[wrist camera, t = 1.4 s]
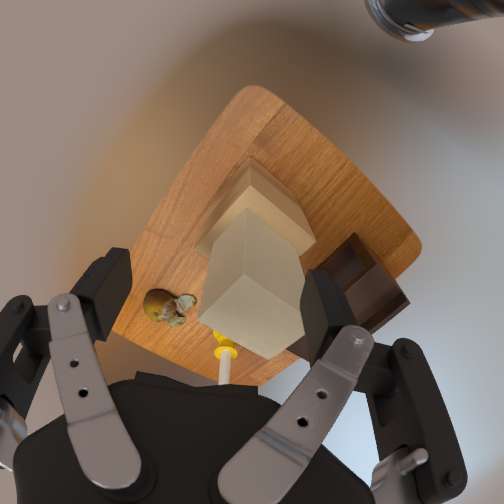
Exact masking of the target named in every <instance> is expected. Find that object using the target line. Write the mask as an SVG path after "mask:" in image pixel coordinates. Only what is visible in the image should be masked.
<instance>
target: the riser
mask: <svg viewBox="0 0 504 504" xmlns="http://www.w3.org/2000/svg"><path fill="white" fill-rule="evenodd" d="M245 208H247V209H248V210H250V211H251V212H252V213H253V214H255V215H256V216H257V217H258V218H260V219H261V220H262V221H263V222H265V223H266V224H267V225H268V226H270V227H271V228H272V229H273V230H274V231H276V232H277V233H278V234H279V235H281V236H282V237H283V238H284V239H286V240H287V241H288V242H289V243H290V244H292V245H293V246H294V247H295V248H296V250H297V254H298V257H300V256H302V255H303V254H304V253H305V252H306V251H307V250H308V249H309V248H310V247H311V246H312V245H313V244H314V243H315V242H316V239H315V237H314V234H313V232H312V230H311V228H310V226H309V224H308V221H307V219H306V217H305V215H304V213H303V211H302V209H301V207H300V205H299V203H298V201H297V198H296V196H295V194H294V193H293V192H292V191H291V190H289V189H288V188H287V187H286V186H285V185H284V184H283V183H281V182H280V181H279V180H278V179H277V178H276V177H274V176H273V175H272V174H271V173H270V172H269V171H267V170H266V169H265V168H264V167H263V166H261V165H260V164H259V163H258V162H257V161H255V160H254V159H253V158H252V157H251V156H249V157H248V158H247V159H246V160H245V161H244V163H243V164H242V165H241V166H240V167H239V168H238V169H237V170H236V172H235V173H234V174H233V175H232V176H231V177H230V178H229V180H228V181H227V182H226V183H225V184H224V185H223V187H222V188H221V189H220V190H219V191H218V193H217V194H216V195H215V196H214V197H213V198H212V200H211V202H210V205H209V208H208V210H207V213H206V216H205V219H204V221H203V224H202V227H201V230H200V233H199V236H198V238H197V241H196V244H195V247H194V250H195V251H196V252H197V253H199V254H200V255H202V256H203V257H205V258H206V259H207V260H209V261H210V256H211V252H212V248H213V243H214V242H215V241H216V240H217V239H218V238H219V236H220V235H221V234H222V233H223V232H224V231H225V230H226V229H227V227H228V226H229V225H230V224H231V223H232V222H233V221H234V220H235V219H236V217H237V216H238V215H239V214H240V213H241V212H242V211H243V210H244V209H245Z"/></svg>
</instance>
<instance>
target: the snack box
mask: <svg viewBox="0 0 504 504" xmlns="http://www.w3.org/2000/svg"><path fill="white" fill-rule="evenodd" d="M304 283H305V277H304V274H303V270H302V267H301V264H300V260H299V257H298V254H297V250H296V248H295V247H294V246H293V245H292V244H290V243H289V242H288V241H287V240H286V239H284V238H283V237H282V236H281V235H279V234H278V233H277V232H276V231H274V230H273V229H272V228H271V227H270V226H268V225H267V224H266V223H265V222H263V221H262V220H261V219H260V218H258V217H257V216H256V215H255V214H253V213H252V212H251V211H250V210H248V209H247V208H245V209H244V210H243V211H242V212H241V213H240V214H239V215H238V216H237V217H236V219H235V220H234V221H233V222H232V223H231V224H230V225H229V226H228V227H227V229H226V230H225V231H224V232H223V233H222V234H221V235H220V236H219V238H218V239H217V240H216V241H215V242H214V243H213V248H212V252H211V256H210V261H209V265H208V270H207V274H206V279H205V283H204V288H203V293H202V298H201V302H200V307H199V312H198V317H197V320H198V321H199V322H201V323H203V324H204V325H206V326H208V327H209V328H211V329H213V330H215V331H216V332H218V333H220V334H221V335H223V336H225V337H227V338H229V339H230V340H232V341H234V342H236V343H238V344H239V345H241V346H243V347H245V348H247V349H249V350H250V351H252V352H254V353H256V354H258V355H260V356H262V357H264V358H266V359H267V360H270V359H272V358H273V357H274V356H276V355H277V354H279V353H280V352H282V351H283V350H284V349H286V348H287V347H289V346H290V345H291V344H293V343H294V342H295V341H297V340H298V339H299V338H301V337H302V336H304V335H305V332H304V327H303V322H302V318H301V313H300V297H301V294H302V290H303V287H304Z"/></svg>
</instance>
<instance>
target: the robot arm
mask: <svg viewBox="0 0 504 504" xmlns="http://www.w3.org/2000/svg"><path fill="white" fill-rule="evenodd" d="M376 2H377V5H378V7H379V9H380V11H381V13H382V14H383V16H384V17H385V18H386V19H387V20H388V21H389V22H390V23H391V24H392V25H393V26H395V27H396V28H398V29H399V30H401V31H403V32H406V33H410V34H420V33H424V34H427V33H428V32H426V31H428V30H432V29H436V28H440V27H445V26H449V25H454V24H458V23H463V22H469V21H474V20H481V19H485V18H486V19H487V18H494V17H504V0H376ZM132 281H133V280H132V270H131V261H130V253H129V250H128V249H123V248H114V247H113V248H111V249H110V250H109V252H108V253H107V254H106V256H105V257H100V258H99V259H97V260H95V261H94V262H93V263H92V264H91V265H90V266H89V268H88V269H87V270H86V271H85V273H84V274H83V276H81V278H80V279H79V280H78V282H77V283H76V284H75V286H74V287H73V288H72V290H71V291H70V292H69V293H64V294H60V295H57V296H56V297H54V298H53V299H52V300H51V301H50V302H49V304H48V305H45V306H34V305H33V303H32V300H31V298H30V297H28V296H26V295H19V296H16V297H14V298H12V299H11V300H10V301H9V302H8V303H7V304H6V306H5V307H4V308H3V309H2V311H1V312H0V469H7V470H8V471H10V472H12V473H14V478H15V483H16V491H17V504H442V503H444V502H446V501H448V500H450V499H453V498H455V497H457V496H458V495H460V494H461V493H462V492H463V490H464V489H465V487H466V484H467V479H468V478H467V471H466V467H465V463H464V460H463V456H462V453H461V450H460V447H459V443H458V440H457V437H456V434H455V431H454V428H453V425H452V422H451V420H450V417H449V414H448V411H447V409H446V406H445V403H444V401H443V398H442V396H441V393H440V390H439V388H438V386H437V383H436V381H435V378H434V376H433V374H432V371H431V369H430V367H429V365H428V362H427V360H426V358H425V356H424V354H423V351H422V349H421V348H420V346H419V345H418V344H417V343H415V342H414V341H412V340H410V339H406V338H400V339H397V340H396V341H395V342H394V344H393V345H392V346H389V345H384V344H381V343H376V342H374V339H373V336H372V335H371V334H370V332H368V331H367V330H366V329H364V328H362V327H360V326H358V323H357V321H356V319H355V316H354V314H353V311H352V309H351V307H350V306H349V302H348V300H347V299H346V298H347V297H346V295H345V293H344V291H343V289H342V288H341V287H340V286H339V285H338V284H337V283H336V282H331V281H330V278H329V276H328V274H327V271H325V270H315V269H309V270H308V272H307V276H306V279H305V283H304V287H303V290H302V294H301V297H300V313H301V318H302V322H303V327H304V332H305V337H306V341H307V346H308V351H309V356H310V361H311V366H313V367H312V368H311V369H310V371H309V372H308V373H307V375H306V376H305V377H304V378H303V380H302V381H301V382H300V384H299V385H298V386H297V387H296V389H295V390H294V391H293V393H292V394H291V395H290V396H289V398H288V399H287V400H286V401H285V403H284V404H283V405H280V404H279V403H277V402H276V401H273V400H271V399H269V398H267V397H264V396H261V395H258V386H248V385H234V384H223V385H214V386H205V387H193V386H189V385H187V384H184V383H181V382H179V381H176V380H174V379H171V378H168V377H166V376H160V375H155V374H150V373H144V372H139V371H137V373H136V375H135V379H130V380H123V381H119V382H116V383H113V384H111V385H109V384H108V382H107V379H106V377H105V374H104V372H103V369H102V366H101V364H100V361H99V358H98V356H97V353H96V350H95V347H94V343H95V341H96V340H100V341H104V342H105V341H106V340H107V337H108V335H109V333H110V331H111V329H112V327H113V325H114V323H115V321H116V319H117V317H118V315H119V313H120V311H121V309H122V307H123V305H124V303H125V301H126V299H127V297H128V295H129V293H130V291H131V288H132ZM19 343H21V345H22V346H23V347H22V349H21V351H20V353H19V355H18V356H17V358H16V360H15V362H14V363H13V354H14V352H15V350H16V348H17V346H18V344H19ZM50 359H52V365H53V370H54V375H55V379H56V383H57V387H58V391H59V395H60V399H61V403H62V406H63V409H64V414H63V415H61V416H60V417H58V418H57V419H55V420H53V421H52V422H50V423H49V424H47V425H45V426H44V427H42V428H40V429H39V430H37V431H36V432H34V433H32V434H31V435H29V436H28V435H27V426H26V423H25V419H26V416H27V414H28V411H29V408H30V405H31V403H32V400H33V398H34V395H35V393H36V390H37V388H38V385H39V383H40V380H41V378H42V376H43V374H44V372H45V369H46V367H47V365H48V363H49V361H50ZM352 391H357V392H362V393H365V394H366V398H367V402H368V407H369V411H370V416H371V420H372V425H373V430H374V435H375V440H376V444H377V450H378V454H379V460H380V462H379V463H378V464H377V465H376V467H375V468H374V470H373V472H372V482H371V486H370V488H369V486H368V485H367V484H366V483H365V482H364V481H363V480H362V479H360V478H359V477H358V476H357V475H356V474H354V472H352V471H351V470H350V469H349V468H348V467H347V466H346V465H344V464H343V463H342V462H341V461H340V460H339V459H338V458H337V457H336V456H334V455H333V454H332V453H331V452H330V451H329V450H328V449H327V448H326V447H325V446H324V445H322V442H323V440H324V439H325V437H326V435H327V434H328V432H329V431H330V429H331V428H332V426H333V424H334V423H335V421H336V419H337V418H338V416H339V414H340V412H341V411H342V409H343V407H344V406H345V404H346V402H347V400H348V398H349V397H350V395H351V393H352Z"/></svg>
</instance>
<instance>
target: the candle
mask: <svg viewBox="0 0 504 504" xmlns="http://www.w3.org/2000/svg"><path fill="white" fill-rule="evenodd" d="M213 335H214V337H215V338H216V339H217V340H218V343H219V344H220V347H218V348H217V349H216V350H215V352H214V353H215V356H216V357H217V358H219V359H220V371H219V385H223V384H229V378H230V362H231V360H233V359H235V358H236V357H237V351H236V350H235V349H234V348H233V345H235V343H236V342H234V341H232V340H230V339H229V338H227V337H225V336H223V335H221V334H220V333H218V332H216V331H215V330H213Z"/></svg>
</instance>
